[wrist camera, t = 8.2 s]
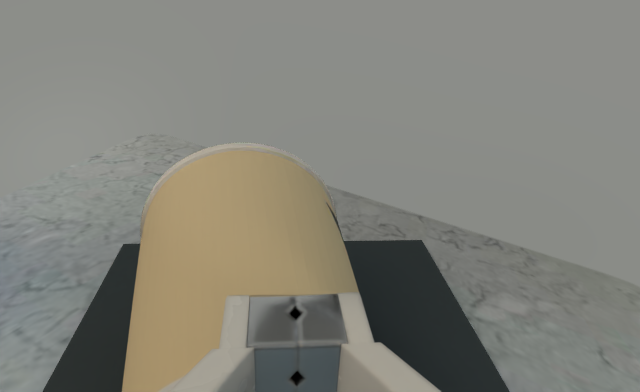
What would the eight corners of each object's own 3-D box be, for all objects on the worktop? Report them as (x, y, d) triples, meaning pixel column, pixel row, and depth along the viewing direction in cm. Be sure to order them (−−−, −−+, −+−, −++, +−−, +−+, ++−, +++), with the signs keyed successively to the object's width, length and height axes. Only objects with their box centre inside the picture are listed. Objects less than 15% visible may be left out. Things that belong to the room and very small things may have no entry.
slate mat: (420, 247, 31) (421, 239, 31) (548, 474, 17) (552, 463, 17) (124, 251, 29) (123, 243, 29) (-17, 517, 15) (-22, 506, 14)
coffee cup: (486, 376, 12) (364, 178, 23) (149, 297, 9) (184, 103, 19) (327, 548, 16) (283, 308, 26) (35, 543, 12) (117, 266, 22)
